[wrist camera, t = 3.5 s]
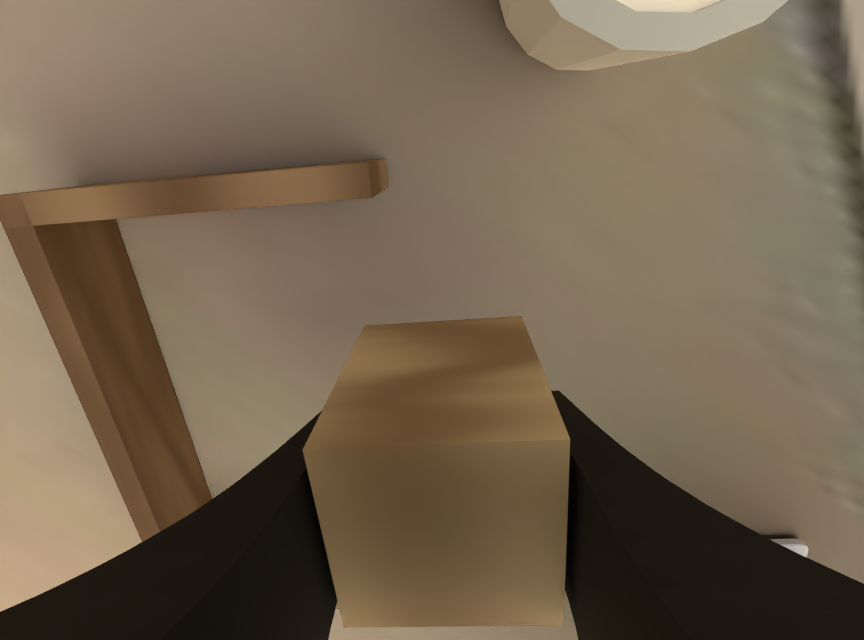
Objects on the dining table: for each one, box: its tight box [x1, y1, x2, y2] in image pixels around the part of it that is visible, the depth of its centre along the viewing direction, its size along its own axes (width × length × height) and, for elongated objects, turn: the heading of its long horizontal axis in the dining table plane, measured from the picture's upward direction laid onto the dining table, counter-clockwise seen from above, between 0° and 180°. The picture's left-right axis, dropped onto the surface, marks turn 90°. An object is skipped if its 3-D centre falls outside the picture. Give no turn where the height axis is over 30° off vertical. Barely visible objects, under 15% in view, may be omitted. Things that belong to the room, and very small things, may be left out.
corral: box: [0, 159, 388, 609], centre depth 18 cm, size 12×19×4 cm, turn 5°
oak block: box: [303, 316, 570, 627], centre depth 10 cm, size 4×4×5 cm
